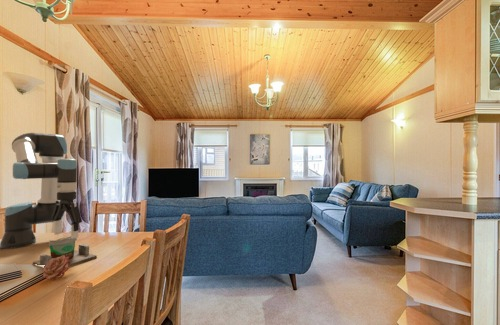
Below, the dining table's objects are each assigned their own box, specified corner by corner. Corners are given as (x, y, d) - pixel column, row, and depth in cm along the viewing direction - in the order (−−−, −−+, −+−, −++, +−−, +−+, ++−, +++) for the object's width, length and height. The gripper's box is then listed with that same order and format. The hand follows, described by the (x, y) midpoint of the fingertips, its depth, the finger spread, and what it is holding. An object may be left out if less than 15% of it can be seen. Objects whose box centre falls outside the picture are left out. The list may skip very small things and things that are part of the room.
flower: (57, 267, 107) (46, 255, 102) (79, 262, 108) (69, 250, 103) (46, 288, 99) (34, 277, 94) (70, 283, 100) (59, 271, 95)
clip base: (32, 264, 114) (32, 253, 114) (74, 252, 130) (74, 242, 130) (55, 271, 106) (55, 259, 106) (96, 257, 122) (96, 247, 122)
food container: (58, 264, 111) (59, 241, 111) (47, 262, 113) (48, 240, 113) (83, 254, 123) (83, 234, 123) (73, 253, 125) (73, 233, 125)
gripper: (43, 190, 121) (42, 234, 120) (74, 193, 110) (73, 241, 110) (60, 189, 127) (59, 230, 127) (91, 192, 117) (90, 237, 116)
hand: (66, 236), depth 118 cm, fingers open, 13 cm apart
